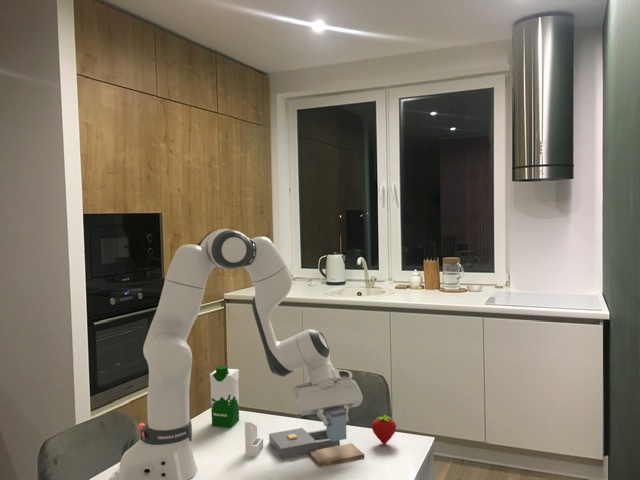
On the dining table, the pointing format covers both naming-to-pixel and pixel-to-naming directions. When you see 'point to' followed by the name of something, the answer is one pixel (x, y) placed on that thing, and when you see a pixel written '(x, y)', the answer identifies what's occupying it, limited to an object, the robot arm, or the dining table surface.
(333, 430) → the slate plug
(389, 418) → the strawberry
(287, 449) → the grey socket base
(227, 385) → the milk carton
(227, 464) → the dining table surface
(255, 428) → the white slotted stand
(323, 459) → the walnut pad
